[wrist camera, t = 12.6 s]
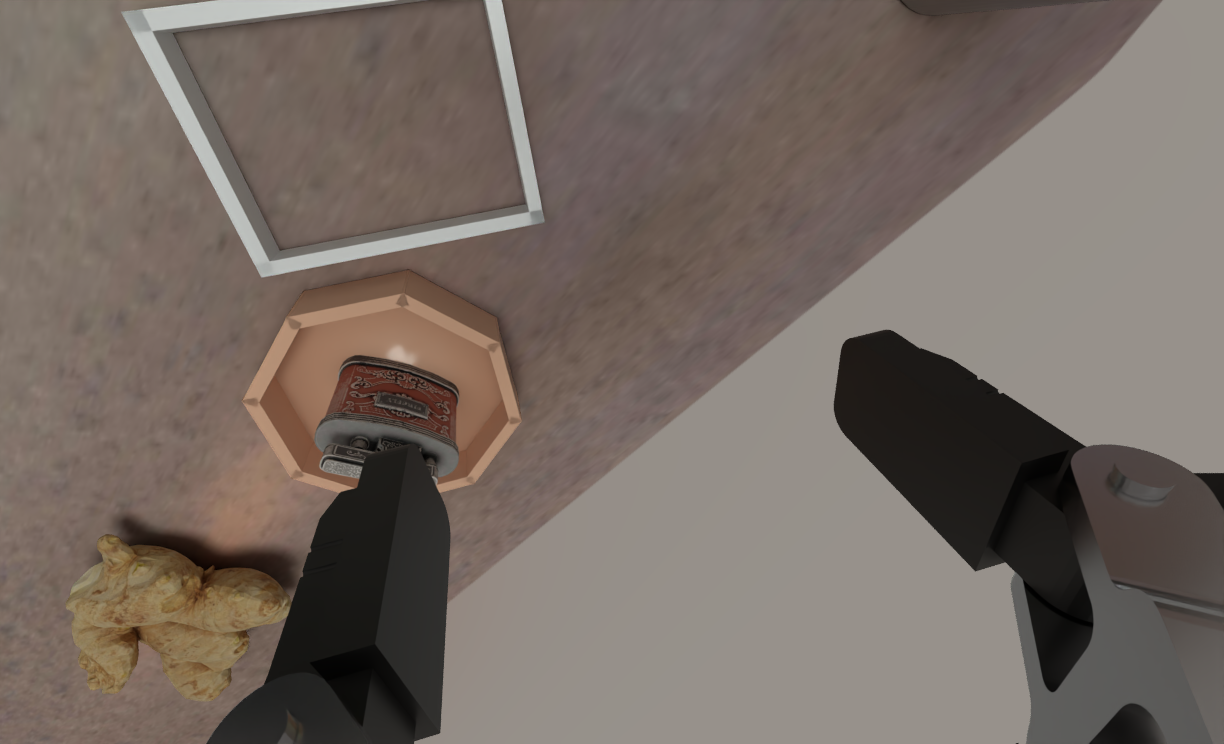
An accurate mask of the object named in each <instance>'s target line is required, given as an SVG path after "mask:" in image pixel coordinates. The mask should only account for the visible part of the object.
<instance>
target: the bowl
mask: <svg viewBox="0 0 1224 744" xmlns="http://www.w3.org/2000/svg"><path fill="white" fill-rule="evenodd" d="M354 355H364V356H372V357H379V358H386V359H390V360H394V361H398V362H402V363H407V364H411V365H413V366H416V367H419V368H421V369H424V370H427V371H430V372H432V373H434V374H436V375H439V376H441V377H443V378H445V379H447V380H449V381H451V382H452V383H454V384H455V385H456V386H457V388H458V390H459V403H458V406H457V408H456V444H457V446H458V449H459V461H458V465H457V467H456V468H455V469H454V471H452V472H451V473H450V474H448V475H446V476H443V477H438V482H437V485H436V487H437V489H438V491H439V493H440V492H444V491H448V490H452V489H456V488H459V487H463V486H467V485H471V484H475V482H476V481H477V479H478V478H479V477H480V475H481V474H482V473H483V471H484V470H485V469H486V467H487V466H488V465H489V463H490V462H491V461H492V459H493V458H494V457H495V455H496V454H497V453H498V451H499V450H500V449H501V447H502V446H503V445H504V443H505V442H506V441H507V440H508V438H509V437H510V436H511V434H512V433H513V432H514V430H515V429H516V428H517V426H518V425H519V424H520V422H521V421H522V418H521V412H520V407H519V401H518V395H517V390H516V388H515V385H514V381H513V377H512V374H511V370H510V366H509V363H508V359H507V355H506V352H505V348H504V344H503V341H502V337H501V333H500V330H499V326H498V322H497V317H496V316H493V315H491V314H489V313H487V312H485V311H484V310H482V309H480V308H478V307H476V306H474V305H473V304H471V303H469V302H467V301H465V300H463V299H462V298H460V297H458V296H456V295H454V294H452V293H450V292H449V291H447V290H445V289H443V288H441V287H439V286H438V285H436V284H434V283H432V282H430V281H428V280H426V279H425V278H423V277H421V276H419V275H417V274H415V273H414V272H412V271H410V270H406V271H401V272H396V273H391V274H386V275H381V276H376V277H371V278H366V279H361V280H356V281H351V282H346V283H341V284H336V285H331V286H326V287H321V288H316V289H311V290H305V291H303V292H302V294H301V295H300V297H299V298H298V300H297V301H296V303H295V304H294V306H293V307H292V309H291V310H290V312H289V313H288V315H287V316H286V320H285V322H284V324H283V326H282V327H281V329H280V331H279V333H278V335H277V337H276V339H275V341H274V342H273V344H272V346H271V348H270V350H269V352H268V354H267V356H266V358H265V359H264V361H263V363H262V365H261V367H260V369H259V371H258V373H257V374H256V376H255V378H254V380H253V382H252V384H251V386H250V388H249V389H248V391H247V393H246V394H245V396H244V397H243V399H242V402H243V403H244V405H245V406H246V408H247V410H248V411H249V413H250V414H251V416H252V417H253V419H254V421H255V422H256V424H257V425H258V427H259V428H260V430H261V431H262V433H263V435H264V436H265V438H266V439H267V441H268V442H269V444H270V446H271V447H272V449H273V450H274V452H275V453H276V455H277V456H278V458H279V460H280V461H281V463H282V464H283V466H284V467H285V469H286V470H287V472H288V474H289V475H290V477H291V478H292V479H295V480H299V481H302V482H305V483H308V484H312V485H315V486H318V487H322V488H325V489H328V490H332V491H335V492H338V493H340V492H342V491H346V490H350V489H354V488H357V486H358V482H359V479H358V478H353V477H348V476H343V475H338V474H333V473H328V472H324V471H323V470H321V469H320V467H319V465H320V461H321V458H322V455H323V452H321V451H320V450H319V449H318V448H317V446H316V444H315V441H314V437H315V432H316V429H317V427H318V425H319V423H320V421H321V419H323V418H324V417H325V415H326V412H327V410H328V407H329V405H330V402H331V399H332V397H333V394H334V391H335V389H336V386H337V383H338V372H339V370H340V367H341V365H342V364H343V362H344V361H345V360H346V359H347V358H348V357H351V356H354Z"/></svg>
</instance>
